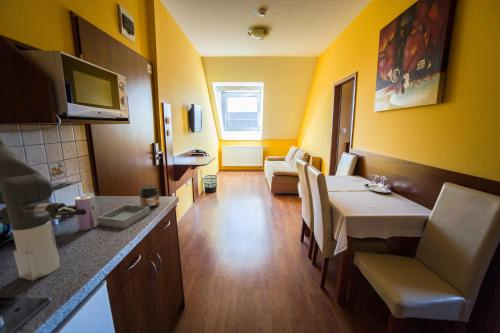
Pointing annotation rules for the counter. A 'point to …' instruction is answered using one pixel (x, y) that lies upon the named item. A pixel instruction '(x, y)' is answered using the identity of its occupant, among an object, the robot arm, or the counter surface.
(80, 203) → the beverage can
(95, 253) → the counter surface
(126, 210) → the tray
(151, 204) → the supplement container
